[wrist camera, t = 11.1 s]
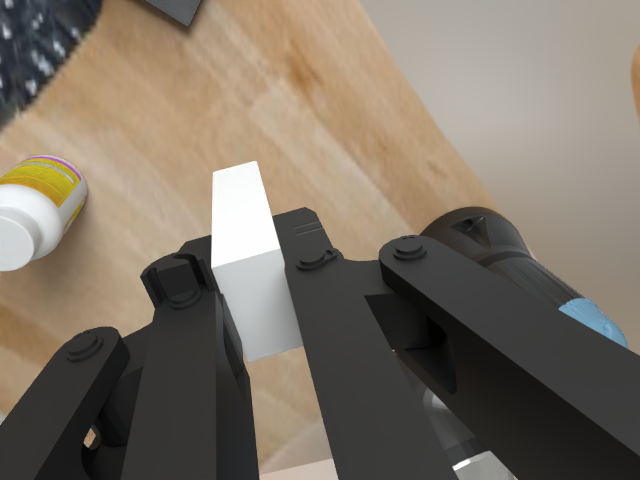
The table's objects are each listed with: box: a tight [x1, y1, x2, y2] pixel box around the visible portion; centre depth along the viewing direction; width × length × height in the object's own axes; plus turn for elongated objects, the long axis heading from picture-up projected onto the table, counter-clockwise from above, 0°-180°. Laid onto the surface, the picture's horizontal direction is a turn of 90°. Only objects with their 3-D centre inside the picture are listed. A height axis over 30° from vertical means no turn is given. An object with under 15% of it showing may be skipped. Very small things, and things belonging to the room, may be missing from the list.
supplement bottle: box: [0, 155, 87, 271], centre depth 39 cm, size 7×7×13 cm
